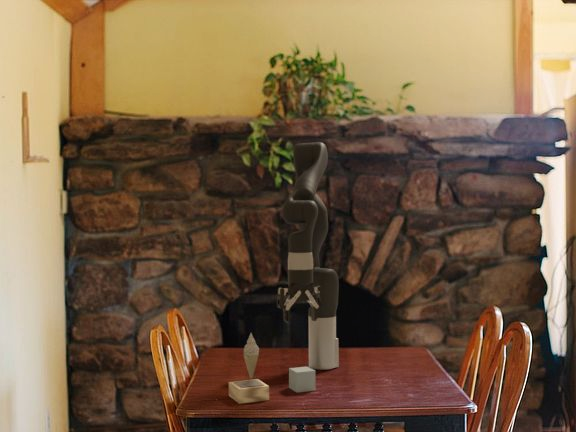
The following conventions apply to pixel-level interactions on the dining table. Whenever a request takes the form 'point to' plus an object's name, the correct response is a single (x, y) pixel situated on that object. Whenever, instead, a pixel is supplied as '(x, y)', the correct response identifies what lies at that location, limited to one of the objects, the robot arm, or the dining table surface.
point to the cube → (302, 379)
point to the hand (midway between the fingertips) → (300, 321)
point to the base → (248, 391)
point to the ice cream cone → (251, 355)
